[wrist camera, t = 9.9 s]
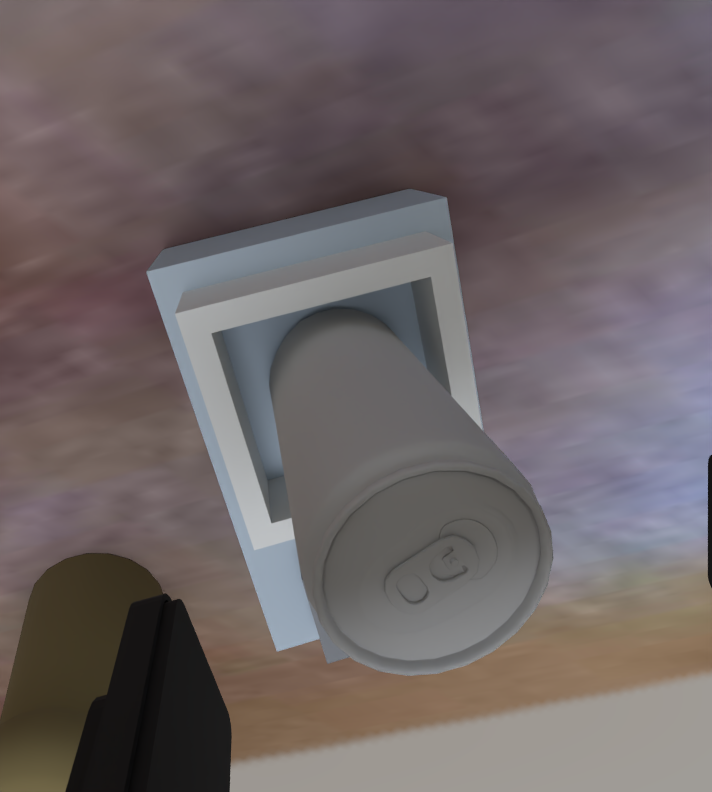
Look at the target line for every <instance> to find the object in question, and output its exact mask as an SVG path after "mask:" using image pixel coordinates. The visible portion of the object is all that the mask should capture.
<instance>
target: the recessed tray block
mask: <svg viewBox="0 0 712 792" xmlns="http://www.w3.org/2000/svg"><path fill="white" fill-rule="evenodd" d="M146 273H147V275H148V278H149V281H150V284H151V287H152V290H153V293H154V296H155V299H156V302H157V304H158V307H159V310H160V313H161V316H162V319H163V322H164V325H165V328H166V331H167V334H168V336H169V339H170V342H171V345H172V348H173V351H174V354H175V357H176V360H177V363H178V365H179V368H180V371H181V374H182V377H183V380H184V383H185V386H186V389H187V392H188V395H189V397H190V400H191V403H192V406H193V409H194V412H195V415H196V418H197V421H198V424H199V427H200V429H201V432H202V435H203V438H204V441H205V444H206V447H207V450H208V453H209V456H210V458H211V461H212V464H213V467H214V470H215V473H216V476H217V479H218V482H219V485H220V488H221V490H222V493H223V496H224V499H225V502H226V505H227V508H228V511H229V514H230V517H231V519H232V522H233V525H234V528H235V531H236V534H237V537H238V540H239V543H240V546H241V549H242V551H243V554H244V557H245V560H246V563H247V566H248V569H249V572H250V575H251V578H252V581H253V583H254V586H255V589H256V592H257V595H258V598H259V601H260V604H261V607H262V610H263V612H264V615H265V618H266V621H267V624H268V627H269V630H270V633H271V636H272V639H273V642H274V644H275V647H276V650H277V651H280V650H284V649H287V648H290V647H294V646H297V645H301V644H304V643H307V642H311V641H314V640H317V639H320V641H321V644H322V648H323V651H324V654H325V657H326V661H327V664H328V663H331V662H335V661H338V660H341V659H345V658H348V657H350V656H348V655H347V654H346V653H345V652H343V651H342V650H341V649H340V648H338V647H337V646H336V645H335V644H334V643H333V642H332V640H331V639H330V637H329V636H328V634H327V633H326V631H325V629H324V628H323V626H322V625H321V623H320V622H319V619H318V615H317V613H316V611H315V609H314V608H313V606H312V605H311V603H310V602H309V600H308V597H307V593H306V589H305V586H304V582H303V578H302V574H301V570H300V566H299V560H298V554H297V548H296V542H295V536H294V530H293V524H292V518H291V513H290V507H289V501H288V495H287V489H286V483H285V477H284V471H283V465H282V459H281V453H280V447H279V441H278V435H277V429H276V423H275V417H274V411H273V406H272V400H271V394H270V388H269V380H270V369H271V366H272V363H273V360H274V358H275V355H276V352H277V350H278V349H279V347H280V345H281V344H282V342H283V340H284V339H285V337H286V335H287V334H288V333H289V332H290V331H291V330H292V329H293V328H294V327H295V326H296V325H297V324H298V323H299V322H300V321H302V320H304V319H306V318H308V317H310V316H312V315H313V314H315V313H318V312H322V311H327V310H331V309H354V310H358V311H361V312H364V313H367V314H370V315H372V316H374V317H376V318H377V319H379V320H380V321H382V322H383V323H385V324H386V325H387V326H388V327H389V328H390V329H391V330H392V331H393V332H394V334H395V335H396V336H397V337H398V338H399V339H400V340H401V341H402V342H403V343H404V345H405V346H406V347H407V348H408V349H409V350H410V351H411V352H412V353H413V354H414V355H415V357H416V358H417V359H418V360H419V361H420V362H421V363H422V364H423V365H424V366H425V368H426V369H427V370H428V371H429V372H430V373H431V374H432V375H433V376H434V377H435V379H436V380H437V381H438V382H439V383H440V384H441V385H442V386H443V387H444V388H445V390H446V391H447V392H448V393H449V394H450V395H451V396H452V397H453V398H454V399H455V401H456V402H457V403H458V404H459V405H460V406H461V407H462V408H463V409H464V410H465V411H466V413H467V414H468V415H469V416H470V417H471V418H472V419H473V420H474V421H475V422H476V424H477V425H478V426H479V427H480V428H481V429H482V430H483V424H482V418H481V411H480V405H479V399H478V392H477V386H476V380H475V373H474V367H473V361H472V354H471V348H470V342H469V335H468V329H467V323H466V316H465V310H464V304H463V297H462V291H461V285H460V278H459V272H458V266H457V259H456V253H455V247H454V240H453V234H452V228H451V221H450V215H449V209H448V202H447V197H444V196H439V195H435V194H431V193H426V192H422V191H418V190H414V189H406V190H402V191H398V192H394V193H390V194H386V195H382V196H378V197H374V198H370V199H366V200H361V201H357V202H353V203H349V204H345V205H341V206H337V207H333V208H329V209H325V210H321V211H317V212H313V213H309V214H305V215H301V216H297V217H292V218H288V219H284V220H280V221H276V222H272V223H268V224H264V225H260V226H256V227H252V228H248V229H244V230H240V231H236V232H232V233H228V234H223V235H219V236H215V237H211V238H207V239H203V240H199V241H195V242H191V243H187V244H183V245H179V246H175V247H171V248H167V249H163V250H162V251H161V253H160V254H159V255H158V257H157V258H156V259H155V261H154V262H153V263H152V265H151V266H150V268H149V269H148V270H147V272H146ZM483 431H484V430H483Z"/></svg>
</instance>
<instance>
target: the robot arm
mask: <svg viewBox="0 0 712 792" xmlns="http://www.w3.org/2000/svg"><path fill="white" fill-rule="evenodd" d="M708 579H709V583H710V585H711V588H712V455H711V456H710V457H709V461H708ZM230 763H231V723H230V718H229V714H228V711H227V708H226V706H225V703H224V701H223V698H222V696H221V694H220V691H219V689H218V686H217V684H216V681H215V679H214V676H213V674H212V671H211V669H210V667H209V664H208V662H207V659H206V657H205V654H204V652H203V649H202V647H201V645H200V642H199V640H198V637H197V635H196V632H195V630H194V627H193V625H192V623H191V620H190V618H189V615H188V613H187V610H186V608H185V605H184V603H183V602H182V600H181V599H177V600H173V601H172V600H171V598H170V597H169V596H168V595H167V594H162V595H158V596H154V597H151V598H147V599H143V600H140V601H136V602H133V603H132V604H131V605H130V608H129V611H128V615H127V619H126V622H125V626H124V630H123V634H122V638H121V642H120V646H119V649H118V653H117V657H116V661H115V665H114V669H113V673H112V676H111V680H110V684H109V688H108V692H107V695H103V696H100V697H96V698H95V700H94V701H93V702H92V703H91V706H90V708H89V710H88V714H87V717H86V721H85V724H84V728H83V731H82V735H81V738H80V742H79V745H78V749H77V752H76V756H75V759H74V763H73V766H72V770H71V773H70V777H69V780H68V784H67V788H66V791H65V792H229V790H230Z"/></svg>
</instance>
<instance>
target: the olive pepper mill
mask: <svg viewBox="0 0 712 792" xmlns="http://www.w3.org/2000/svg"><path fill="white" fill-rule="evenodd" d="M162 594H163V593H162V590H161V587H160V585H159V583H158V582H157V581H156V580H155V578H154V577H153V576H152V575H151V574H150V573H149V572H148V570H146V569H145V568H143V567H141V566H140V565H138V564H136V563H135V562H133V561H131V560H130V559H126V558H123V557H119V556H115V555H112V554H83V555H79V556H75V557H71V558H67V559H65V560H63V561H61V562H59V563H58V564H56V565H54V566H53V567H51V568H49V569H48V570H47V571H46V572H45V573H44V574H43V575H42V576H41V578H40V579H39V580H38V581H37V582H36V583H35V585H34V588H33V591H32V593H31V596H30V599H29V602H28V606H27V610H26V615H25V619H24V623H23V627H22V631H21V635H20V640H19V644H18V648H17V652H16V656H15V660H14V665H13V669H12V673H11V677H10V681H9V686H8V690H7V694H6V698H5V702H4V706H3V711H2V715H1V719H0V792H65V791H66V788H67V784H68V780H69V777H70V773H71V770H72V766H73V763H74V759H75V756H76V752H77V749H78V745H79V742H80V738H81V735H82V731H83V728H84V724H85V721H86V717H87V714H88V710H89V708H90V706H91V703H92V702H93V701H94V700H95V698H96V697H100V696H103V695H107V692H108V688H109V684H110V680H111V676H112V673H113V669H114V665H115V661H116V657H117V653H118V649H119V646H120V642H121V638H122V634H123V630H124V626H125V622H126V619H127V615H128V611H129V608H130V605H131V604H132V603H133V602H136V601H140V600H143V599H147V598H151V597H154V596H158V595H162Z"/></svg>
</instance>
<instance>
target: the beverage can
mask: <svg viewBox="0 0 712 792" xmlns="http://www.w3.org/2000/svg"><path fill="white" fill-rule="evenodd" d="M269 388H270V394H271V400H272V406H273V411H274V417H275V423H276V429H277V435H278V441H279V447H280V453H281V459H282V465H283V471H284V477H285V483H286V489H287V495H288V501H289V507H290V513H291V518H292V524H293V530H294V536H295V542H296V548H297V554H298V560H299V566H300V570H301V574H302V578H303V582H304V586H305V589H306V593H307V597H308V600H309V602H310V603H311V605H312V606H313V608H314V609H315V611H316V613H317V615H318V619H319V622H320V623H321V625H322V626H323V628H324V629H325V631H326V633H327V634H328V636H329V637H330V639H331V640H332V642H333V643H334V644H335V645H336V646H337V647H338V648H340V649H341V650H342V651H343V652H345V653H346V654H347V655H348V656H350V657H351V658H352V659H353V660H354V661H357V662H359V663H361V664H364V665H366V666H368V667H371V668H373V669H375V670H378V671H380V672H387V673H393V674H400V675H407V676H411V675H425V674H438V673H441V672H445V671H448V670H452V669H455V668H459V667H462V666H466V665H468V664H470V663H472V662H474V661H476V660H477V659H479V658H481V657H483V656H485V655H487V654H489V653H491V652H493V651H494V650H496V649H497V648H498V647H499V646H501V645H502V644H503V643H504V642H506V641H507V640H508V639H509V638H510V637H512V636H513V635H514V634H515V633H517V631H518V630H519V629H520V628H521V627H522V625H523V624H524V623H525V622H526V621H527V619H528V618H529V617H530V616H531V614H532V613H533V612H534V611H535V609H536V607H537V605H538V603H539V601H540V599H541V597H542V595H543V593H544V591H545V589H546V587H547V585H548V580H549V576H550V571H551V566H552V562H553V549H552V537H551V530H550V528H549V525H548V523H547V520H546V518H545V515H544V513H543V510H542V508H541V506H540V505H539V504H538V501H537V499H536V496H535V494H534V492H533V489H532V487H531V484H530V483H529V482H528V481H527V479H526V478H525V477H524V476H523V475H522V474H521V472H520V471H519V470H518V469H517V468H516V467H515V466H514V464H513V463H512V462H511V461H510V460H509V459H508V458H507V456H506V455H505V454H504V453H503V452H502V451H501V450H500V449H499V448H498V447H497V446H496V444H495V443H494V442H493V441H492V440H491V439H490V438H489V437H488V436H487V435H486V433H485V432H484V431H483V430H482V429H481V428H480V427H479V426H478V425H477V424H476V422H475V421H474V420H473V419H472V418H471V417H470V416H469V415H468V414H467V413H466V411H465V410H464V409H463V408H462V407H461V406H460V405H459V404H458V403H457V402H456V401H455V399H454V398H453V397H452V396H451V395H450V394H449V393H448V392H447V391H446V390H445V388H444V387H443V386H442V385H441V384H440V383H439V382H438V381H437V380H436V379H435V377H434V376H433V375H432V374H431V373H430V372H429V371H428V370H427V369H426V368H425V366H424V365H423V364H422V363H421V362H420V361H419V360H418V359H417V358H416V357H415V355H414V354H413V353H412V352H411V351H410V350H409V349H408V348H407V347H406V346H405V345H404V343H403V342H402V341H401V340H400V339H399V338H398V337H397V336H396V335H395V334H394V332H393V331H392V330H391V329H390V328H389V327H388V326H387V325H386V324H385V323H383V322H382V321H380V320H379V319H377V318H376V317H374V316H372V315H370V314H367V313H364V312H361V311H358V310H354V309H331V310H327V311H322V312H318V313H315V314H313V315H312V316H310V317H308V318H306V319H304V320H302V321H300V322H299V323H298V324H297V325H296V326H295V327H294V328H293V329H292V330H291V331H290V332H289V333H288V334H287V335H286V337H285V339H284V340H283V342H282V344H281V345H280V347H279V349H278V350H277V352H276V355H275V358H274V360H273V363H272V366H271V369H270V380H269Z"/></svg>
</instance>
